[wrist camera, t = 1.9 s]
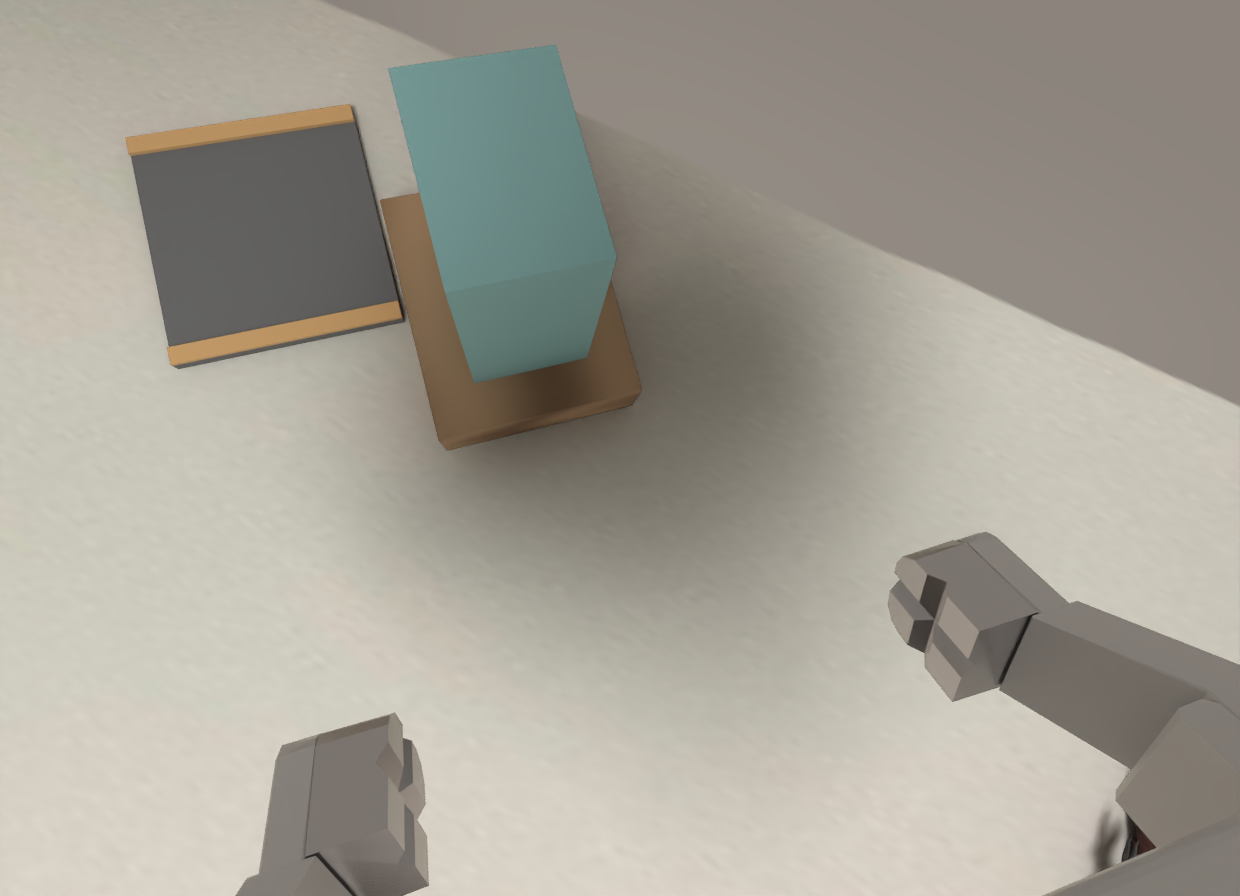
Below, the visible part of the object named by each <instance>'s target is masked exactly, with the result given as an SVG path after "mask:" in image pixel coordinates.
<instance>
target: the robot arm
mask: <svg viewBox="0 0 1240 896" xmlns="http://www.w3.org/2000/svg"><path fill="white" fill-rule="evenodd" d="M894 573H895V574H896V575H897V576H898V578H899V579H900V580H899V581H898V582H897V583H896V585H895V586H894V587H893V588H892V589H891V590H890V594H889V600H888V608H889V612H890V616H891V620H892V622H893V624H894V626H895V628H896V630H897V632H898V633H899V634H900V636H901V637H902V638H903V640H904V641H905V642H906V644H907V645H909V646H911V647H913V648H915V649H917V650H919V651H921V652H923V653H924V655H925V668H926V669H927V671H928V672H929V673H930V674H931V676H932V677H933V678H934V680H935V681H936V682H937V683H938V685H939V686H940V687H941V688H942V690H943V691H944V692H945V694H946V695H947V696H948V697H949V699H950V700H951V701H952V702H954V701H957V700H960V699H963V698H966V697H969V696H973V695H976V694H979V693H982V692H985V691H988V690H991V689H995V688H998V687H1000V689H999V690H1000V691H1002V692H1003V693H1005V694H1007V695H1008V696H1010V697H1012V698H1013V699H1015V700H1017V701H1018V702H1020V703H1022V704H1023V705H1025V706H1027V707H1028V708H1030V709H1032V710H1033V711H1035V712H1037V713H1038V714H1040V715H1042V716H1043V717H1045V718H1047V719H1048V720H1050V721H1052V722H1053V723H1055V724H1057V725H1058V726H1060V727H1062V728H1063V729H1065V730H1067V731H1068V732H1070V733H1072V734H1073V735H1075V736H1077V737H1078V738H1080V739H1082V740H1083V741H1085V742H1087V743H1088V744H1090V745H1092V746H1093V747H1095V748H1097V749H1098V750H1100V751H1102V752H1103V753H1105V754H1107V755H1108V756H1110V757H1112V758H1113V759H1115V760H1117V761H1118V762H1120V763H1122V764H1123V765H1125V766H1127V767H1128V768H1130V769H1132V770H1131V771H1130V772H1129V774H1128V775H1127V776H1126V778H1125V779H1124V780H1123V782H1122V783H1121V784H1120V785H1119V787H1118V788H1117V789H1116V802H1117V803H1118V804H1119V805H1120V806H1121V807H1122V808H1123V810H1124V811H1125V812H1126V813H1127V814H1128V815H1129V816H1130V818H1131V819H1132V820H1133V821H1134V822H1135V823H1136V825H1137V826H1138V827H1139V828H1140V829H1141V830H1142V831H1143V833H1144V834H1145V835H1146V836H1147V837H1148V838H1149V839H1150V841H1151V842H1152V843H1153V844H1154V845H1155V846H1156V848H1155V849H1153V850H1150V851H1148V852H1146V853H1143V854H1141V855H1138V856H1136V857H1134V858H1131V859H1129V860H1126V861H1124V862H1122V863H1119V864H1117V865H1114V866H1112V867H1110V868H1107V869H1105V870H1103V871H1100V872H1098V873H1095V874H1093V875H1091V876H1088V877H1086V878H1083V879H1081V880H1079V881H1076V882H1074V883H1071V884H1069V885H1067V886H1064V887H1062V888H1059V889H1057V890H1055V891H1052V892H1050V893H1048V894H1045V895H1043V896H1240V665H1239V664H1236V663H1233V662H1231V661H1228V660H1226V659H1223V658H1221V657H1218V656H1216V655H1213V654H1211V653H1208V652H1206V651H1203V650H1200V649H1198V648H1195V647H1193V646H1190V645H1188V644H1185V643H1183V642H1180V641H1178V640H1175V639H1173V638H1170V637H1167V636H1165V635H1162V634H1160V633H1157V632H1155V631H1152V630H1150V629H1147V628H1145V627H1142V626H1140V625H1137V624H1134V623H1132V622H1129V621H1127V620H1124V619H1122V618H1119V617H1117V616H1114V615H1112V614H1109V613H1107V612H1104V611H1101V610H1099V609H1096V608H1094V607H1091V606H1089V605H1086V604H1084V603H1081V602H1079V601H1076V602H1072V603H1068V602H1067V601H1066V600H1065V599H1064V598H1063V597H1062V596H1061V595H1059V594H1058V593H1057V592H1056V591H1055V590H1054V589H1053V588H1052V587H1051V586H1050V585H1048V584H1047V583H1046V582H1045V581H1044V580H1043V579H1042V578H1041V577H1040V576H1039V575H1038V574H1036V573H1035V572H1034V571H1033V570H1032V569H1031V568H1030V567H1029V566H1028V565H1027V564H1025V563H1024V562H1023V561H1022V560H1021V559H1020V558H1019V557H1018V556H1017V555H1016V554H1014V553H1013V552H1012V551H1011V550H1010V549H1009V548H1008V547H1007V546H1006V545H1005V544H1003V543H1002V542H1001V541H1000V540H999V539H998V538H997V537H995V536H994V535H992V534H990V533H987V532H982V533H977V534H974V535H971V536H968V537H965V538H962V539H959V540H956V541H954V540H952V541H949V542H946V543H943V544H940V545H937V546H934V547H931V548H928V549H925V550H922V551H919V552H915V553H912V554H909V555H906V556H903V557H902V558H901V559H900V560H899V561H898V562H897V564H896V568H895V572H894ZM425 804H426V802H425V785H424V778H423V772H422V766H421V762H420V759H419V756H418V753H417V750H416V748H415V746H414V744H413V742H412V741H411V740H408V739H405V738H403V724H402V723H401V721H400V720H399V718H398V717H397V715H396V713H391V714H388V715H384V716H381V717H378V718H374V719H371V720H367V721H364V722H360V723H357V724H354V725H350V726H347V727H343V728H340V729H336V730H333V731H330V732H326V733H321V734H318V735H315V736H311V737H308V738H305V739H302V740H298V741H295V742H292V743H288V744H285V745H282V747H281V749H280V752H279V754H278V756H277V758H276V762H275V768H274V775H273V782H272V788H271V795H270V802H269V808H268V815H267V822H266V829H265V835H264V842H263V849H262V855H261V862H260V869H259V874H257V875H254V876H252V877H249V878H247V879H246V880H245V882H244V883H243V885H242V886H241V888H240V890H239V891H238V893H237V894H236V896H403V895H406V894H408V893H411V892H414V891H416V890H419V889H422V888H424V887H427V886H429V875H428V849H427V835H426V833H425V832H424V830H423V829H422V827H421V825H420V824H419V822H418V820H417V819H418V817H419V815H420V814H421V812H422V810H423V808H424V806H425Z"/></svg>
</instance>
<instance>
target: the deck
mask: <svg viewBox="0 0 1240 896" xmlns="http://www.w3.org/2000/svg"><path fill="white" fill-rule="evenodd" d="M380 203H381V207H382V211H383V215H384V219H385V223H386V227H387V231H388V235H389V239H390V243H391V247H392V252H393V256H394V260H395V264H396V268H397V272H398V276H399V280H400V284H401V288H402V292H403V296H404V301H405V305H406V309H407V313H408V317H409V321H410V325H411V329H412V333H413V337H414V341H415V345H416V350H417V354H418V358H419V362H420V366H421V370H422V374H423V378H424V382H425V386H426V390H427V395H428V399H429V403H430V407H431V411H432V415H433V419H434V423H435V427H436V431H437V435H438V439H439V441H440V442H441V443H442V445H443V446H444V447H445V448H446V449H447V450H451V449H455V448H459V447H464V446H468V445H472V444H476V443H480V442H484V441H488V440H492V439H496V438H500V437H504V436H508V435H512V434H517V433H521V432H525V431H529V430H533V429H537V428H541V427H545V426H549V425H553V424H557V423H561V422H566V421H570V420H574V419H578V418H582V417H586V416H590V415H594V414H598V413H602V412H606V411H610V410H614V409H619V408H623V407H627V406H631V405H632V404H633V403H634V401H635V400H636V398H637V397H638V396H639V394H640V393H641V391H642V388H641V385H640V381H639V378H638V374H637V371H636V367H635V364H634V360H633V357H632V353H631V350H630V346H629V343H628V339H627V336H626V332H625V328H624V325H623V321H622V318H621V314H620V311H619V307H618V304H617V300H616V297H615V293H614V290H613V286H612V283H611V280H610V283H609V286H608V290H607V293H606V296H605V300H604V303H603V306H602V310H601V313H600V316H599V320H598V323H597V326H596V330H595V333H594V336H593V339H592V343H591V346H590V349H589V353H588V356H587V358H584V359H580V360H576V361H571V362H567V363H563V364H558V365H554V366H549V367H545V368H541V369H536V370H532V371H528V372H523V373H519V374H514V375H510V376H506V377H501V378H497V379H493V380H488V381H484V382H480V383H475V384H474V381H473V378H472V375H471V371H470V368H469V365H468V362H467V359H466V356H465V353H464V350H463V347H462V344H461V341H460V338H459V335H458V331H457V328H456V325H455V322H454V319H453V316H452V313H451V310H450V307H449V304H448V301H447V298H446V294H445V291H444V287H443V283H442V279H441V275H440V271H439V267H438V263H437V259H436V255H435V251H434V247H433V244H432V240H431V236H430V232H429V228H428V224H427V220H426V216H425V212H424V208H423V204H422V200H421V196H420V193H416V194H411V195H405V196H399V197H394V198H388V199H382V200H380Z"/></svg>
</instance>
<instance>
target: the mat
mask: <svg viewBox="0 0 1240 896" xmlns="http://www.w3.org/2000/svg"><path fill="white" fill-rule="evenodd" d="M125 139H126V144H127V149H128V154H129V155H130V156H131V158H132V163H133V168H134V174H135V179H136V184H137V189H138V194H139V199H140V204H141V209H142V214H143V219H144V224H145V229H146V234H147V239H148V244H149V249H150V254H151V259H152V264H153V269H154V274H155V279H156V284H157V289H158V294H159V299H160V304H161V309H162V314H163V319H164V325H165V330H166V335H167V340H168V345H169V347H167V351H168V356H169V361H170V365H172V366H174V367H176V368H178V369H181V368H186V367H191V366H195V365H200V364H205V363H210V362H215V361H219V360H224V359H229V358H234V357H238V356H243V355H248V354H253V353H258V352H262V351H267V350H272V349H277V348H282V347H286V346H291V345H296V344H301V343H306V342H310V341H315V340H320V339H325V338H330V337H334V336H339V335H344V334H349V333H354V332H358V331H363V330H368V329H373V328H378V327H382V326H387V325H392V324H397V323H401V322H404V318H403V314H402V310H401V305H400V301H399V297H398V293H397V289H396V285H395V281H394V277H393V273H392V269H391V264H390V260H389V256H388V252H387V248H386V244H385V240H384V236H383V232H382V228H381V223H380V219H379V215H378V211H377V207H376V203H375V199H374V195H373V191H372V187H371V182H370V178H369V174H368V170H367V166H366V162H365V158H364V154H363V150H362V146H361V141H360V137H359V133H358V129H357V125H356V121H355V117H354V113H353V111H352V108H351V106H350V104H347V105H340V106H333V107H327V108H320V109H313V110H307V111H300V112H293V113H287V114H280V115H273V116H266V117H260V118H253V119H246V120H240V121H233V122H226V123H220V124H213V125H206V126H199V127H193V128H186V129H179V130H173V131H166V132H159V133H153V134H146V135H139V136H132V137H126V138H125Z"/></svg>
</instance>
